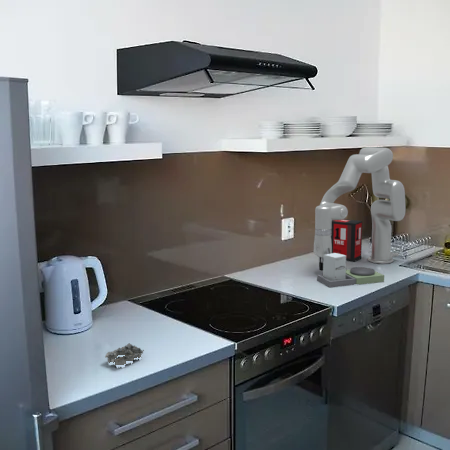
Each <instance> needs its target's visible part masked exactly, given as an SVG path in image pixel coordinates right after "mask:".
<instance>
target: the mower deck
mask: <svg viewBox="0 0 450 450" xmlns="http://www.w3.org/2000/svg"><path fill="white" fill-rule="evenodd" d="M316 281H318V282H319V283H321V284H323V285H324V286H327V287H328V288H338V287H345V286H353V285H354V284H359V285H366V284H367V283H368V284H376V283H384V282H385V275H384V274H382V273H380V272H377V271H376V270H375V269H373V268H371V267H365V266H364V267H363V266H358V267H357V266H355V267H351V268H350V269H346V276H345V280H336V281H330V280H328V279H326V278H324V277H323V275H320V274H317V275H316Z"/></svg>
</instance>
